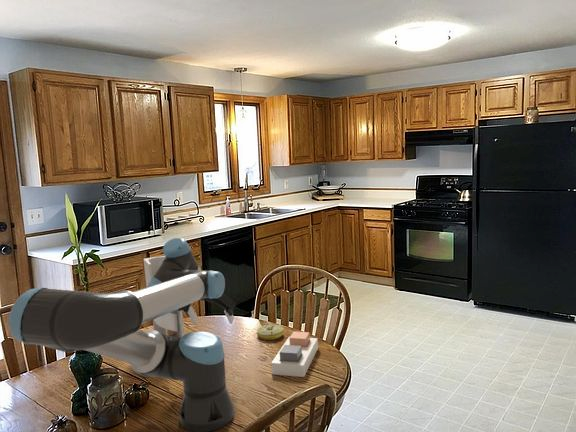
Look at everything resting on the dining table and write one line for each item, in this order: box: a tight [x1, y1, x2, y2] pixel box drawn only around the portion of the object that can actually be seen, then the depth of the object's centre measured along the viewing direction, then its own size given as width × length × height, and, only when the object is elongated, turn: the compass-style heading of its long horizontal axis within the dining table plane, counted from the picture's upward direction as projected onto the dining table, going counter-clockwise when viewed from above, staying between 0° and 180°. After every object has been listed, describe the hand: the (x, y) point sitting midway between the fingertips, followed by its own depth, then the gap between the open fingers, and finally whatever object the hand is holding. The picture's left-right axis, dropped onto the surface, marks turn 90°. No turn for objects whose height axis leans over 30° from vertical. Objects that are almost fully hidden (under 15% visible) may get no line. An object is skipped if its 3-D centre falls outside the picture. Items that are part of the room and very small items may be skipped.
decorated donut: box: [256, 323, 285, 341], centre depth 184 cm, size 10×11×4 cm
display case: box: [143, 255, 185, 337], centre depth 176 cm, size 11×11×35 cm
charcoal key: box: [279, 344, 302, 362], centre depth 154 cm, size 6×6×3 cm
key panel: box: [270, 336, 319, 378], centre depth 160 cm, size 22×11×4 cm, turn 164°
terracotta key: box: [289, 331, 311, 347], centre depth 165 cm, size 6×6×3 cm
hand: (213, 320), depth 158 cm, fingers open, 13 cm apart
